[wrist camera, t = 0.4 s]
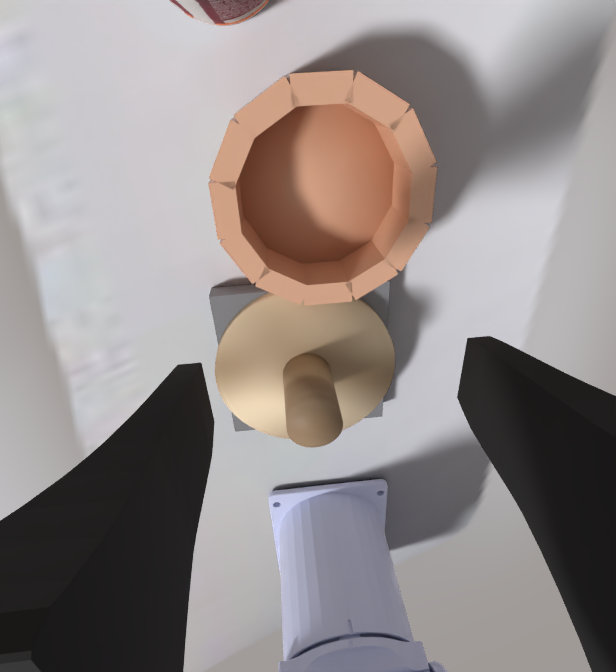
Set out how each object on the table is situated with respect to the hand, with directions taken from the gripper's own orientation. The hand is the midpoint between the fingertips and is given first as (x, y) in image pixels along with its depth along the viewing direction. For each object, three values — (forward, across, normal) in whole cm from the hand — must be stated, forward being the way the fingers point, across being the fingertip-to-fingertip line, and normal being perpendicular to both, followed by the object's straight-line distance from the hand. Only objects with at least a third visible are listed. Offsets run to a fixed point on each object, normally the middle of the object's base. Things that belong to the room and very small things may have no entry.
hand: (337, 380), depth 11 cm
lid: (+8, 0, +5) cm, 10 cm away
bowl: (+9, -1, -3) cm, 10 cm away
